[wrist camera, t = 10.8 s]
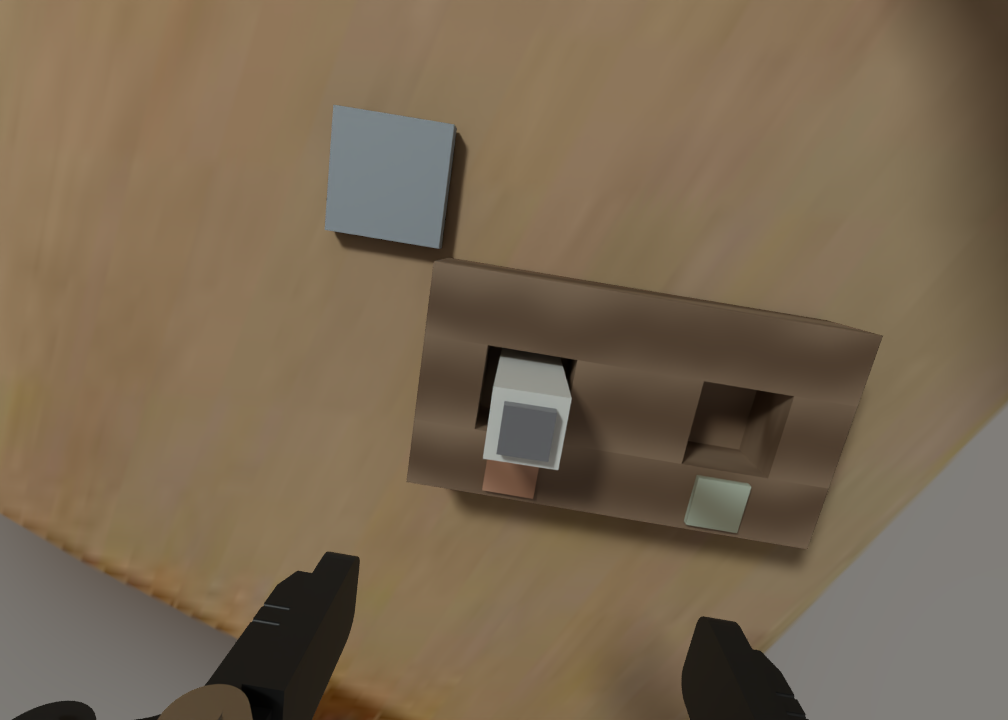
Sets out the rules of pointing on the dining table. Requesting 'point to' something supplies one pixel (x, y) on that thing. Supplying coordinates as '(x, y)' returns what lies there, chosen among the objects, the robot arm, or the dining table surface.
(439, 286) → the socket block
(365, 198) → the thin square blue plate
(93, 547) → the dining table surface
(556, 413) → the plug
